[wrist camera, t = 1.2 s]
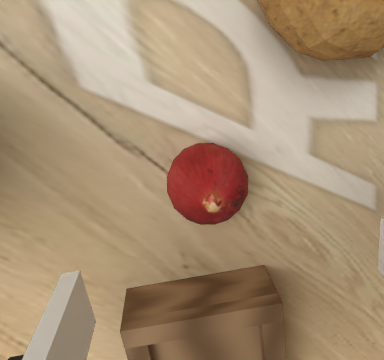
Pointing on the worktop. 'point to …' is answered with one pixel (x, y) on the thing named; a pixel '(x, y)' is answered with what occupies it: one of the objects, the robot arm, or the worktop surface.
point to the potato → (329, 26)
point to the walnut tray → (205, 318)
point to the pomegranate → (207, 183)
